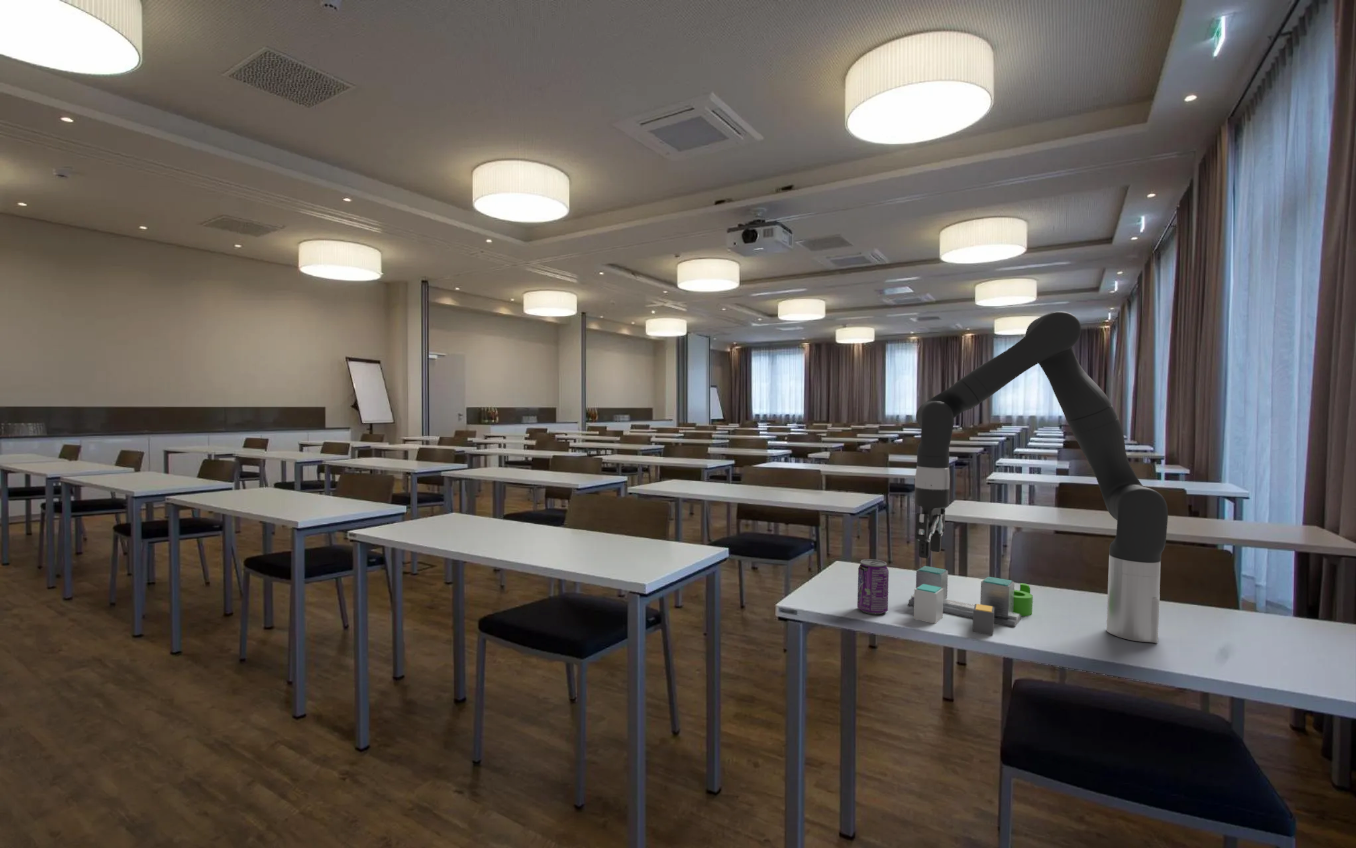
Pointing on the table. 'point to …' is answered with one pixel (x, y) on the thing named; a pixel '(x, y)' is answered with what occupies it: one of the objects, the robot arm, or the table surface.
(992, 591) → the rail
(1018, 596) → the tape dispenser
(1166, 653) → the table surface
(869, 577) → the beverage can
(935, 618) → the block
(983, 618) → the block
